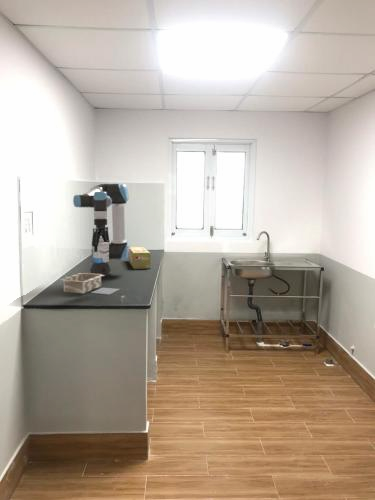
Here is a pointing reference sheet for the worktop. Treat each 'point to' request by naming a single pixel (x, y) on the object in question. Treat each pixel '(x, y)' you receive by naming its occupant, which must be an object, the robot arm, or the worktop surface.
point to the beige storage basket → (82, 282)
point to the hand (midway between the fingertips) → (101, 256)
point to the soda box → (139, 257)
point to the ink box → (102, 252)
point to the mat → (105, 291)
